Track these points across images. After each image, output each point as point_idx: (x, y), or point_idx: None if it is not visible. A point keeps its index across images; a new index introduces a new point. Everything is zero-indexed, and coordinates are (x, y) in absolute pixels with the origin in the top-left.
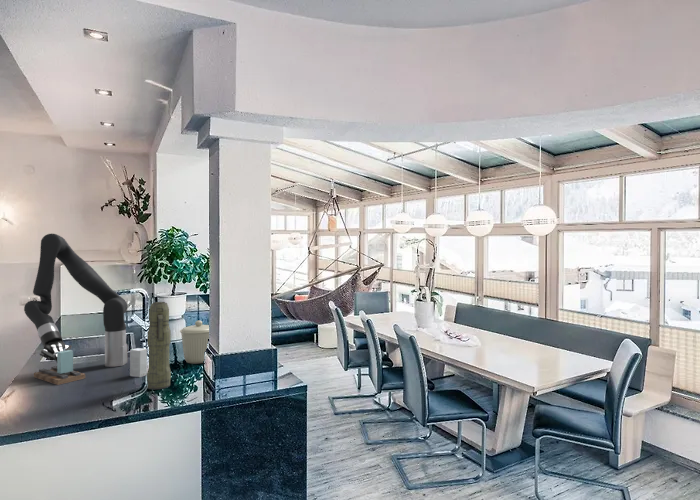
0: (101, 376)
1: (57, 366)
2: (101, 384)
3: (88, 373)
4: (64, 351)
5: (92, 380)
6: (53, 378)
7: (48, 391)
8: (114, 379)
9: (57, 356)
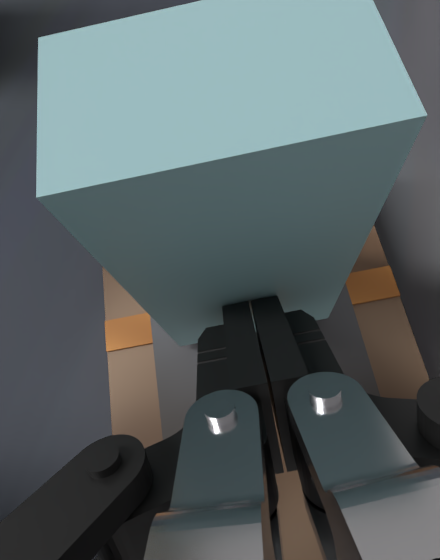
0: (10, 197)
1: (340, 284)
2: (115, 15)
3: (12, 395)
4: (228, 79)
5: None
6: (373, 244)
7: (423, 62)
8: (8, 66)
9: (383, 196)
